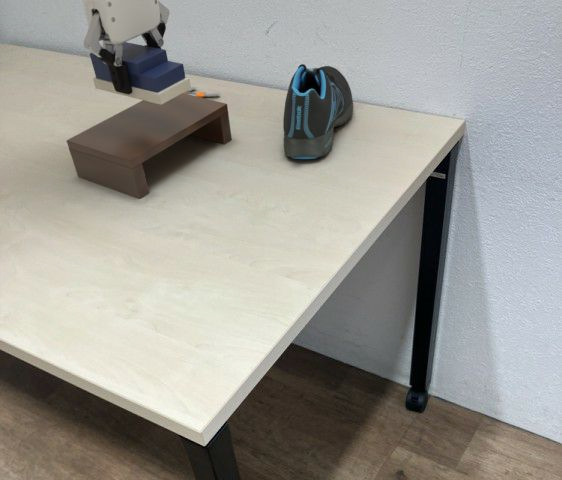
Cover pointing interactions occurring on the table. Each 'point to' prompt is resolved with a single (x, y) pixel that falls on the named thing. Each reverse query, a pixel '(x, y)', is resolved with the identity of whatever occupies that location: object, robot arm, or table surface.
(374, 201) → the table surface
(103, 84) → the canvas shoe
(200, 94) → the key chain
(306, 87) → the running shoe
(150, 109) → the shoe shelf
